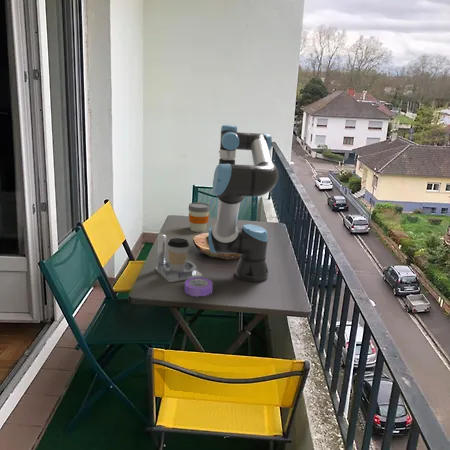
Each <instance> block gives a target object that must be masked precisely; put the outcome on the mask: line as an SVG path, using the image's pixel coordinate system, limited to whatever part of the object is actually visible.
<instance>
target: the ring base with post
mask: <svg viewBox="0 0 450 450" xmlns="http://www.w3.org/2000/svg"><path fill="white" fill-rule="evenodd" d="M166 247H167V234H166V233H158V234H157V260H156V261H157V262H156V263H157V264H156V265H157V266H155V270H156V271H157V272H158V273H159V274H160V275H161V276H162V277H163V278H164V279H165V280H167V282H169V283H174V282H175V283H176V282H180V281H186V280H188V279H190V278H195V277H202V278H203V274H202V273H201V272H199V271H198V270H197V265H196V264H194V263H193V262H192V261H190V260H186V262H185V266H184V271H182V272H177V271H171V270H170V262H169V260H166V257H167V256H166V254H167V253H166V252H167V251H166V250H167V248H166Z"/></svg>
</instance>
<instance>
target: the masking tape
mask: <svg viewBox="0 0 450 450" xmlns="http://www.w3.org/2000/svg"><path fill="white" fill-rule="evenodd" d="M213 284H214V283H213V281H212V280H211V279H209V278H206V277H203V276H202V277H195V278H190V279H187V280H184V292H185V294H187V295H188V294H189V296H192V297H195V296H196V298H199V297H198V296H204V297H207V296H206V295H208V296H210V295H211V294H212V293H213V288H214V287H213V286H214V285H213ZM210 293H211V294H210ZM209 294H210V295H209Z"/></svg>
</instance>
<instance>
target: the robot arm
mask: <svg viewBox="0 0 450 450" xmlns="http://www.w3.org/2000/svg"><path fill="white" fill-rule="evenodd" d="M272 143H273V142H272V135H271V134H268V133H256V132H255V133H254V132H240V131H239V132H238V126H236V125H232V124H223V125H222V126H221V127H220V145H219V146H220V147H219V151H218V154H219V159H218V160H219V162H218V164H217V165H216V167H215V169H214V173H213V180H212V193H213V194H214V195H215V196H216V197H217V213H216V214H217V215H216V223H214V224H213V226H210V227H209V228H208V248H209V251H210V253H213V254H214V253H215V254H227V255H228V254H229V255H231V254H233V255H240V256H239V257H240V258H239V260H238V263H237V266H236V267H235V271H234V275H235V277H236V278H238V279H240V280H241V281H245V282H250V283H252V282H253V283H255V282H257V283H258V282H264V281H266V280H268V278H269V269H268V265H267V261H266V259H267V251H268V250H267V249H268V242H269V238H268V236H269V234H268V231H267V230H266V229H265V228H264V227H263V226H260V225H257V224H251V223H249V224H248V223H247V224H243V225H242V227H241V228H240V227H239V228H238V226H237V222H238V217H239V211H240V205H241V203H242V202H243V201H244V199H245V197H253V198H257V197H262V196H264V195H266V194H268V193H269V192H271V191H272V190H273V189H274V188H275V186H276V185H277V183H278V181H279V171H278V170H279V169H278V167H277V166H276V164H275V163H273V159H272V155H271V152H270V151H271V149H272ZM237 150H241V151H243V150H244V151H251V157H252V162H253V165H252V164H236V160H235V159H236V156H237V155H236V153H237Z"/></svg>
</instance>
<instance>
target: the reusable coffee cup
mask: <svg viewBox="0 0 450 450" xmlns="http://www.w3.org/2000/svg"><path fill="white" fill-rule="evenodd" d="M210 211H211V207H210V204H209V203H205V202H201V201H200V202H197V201H196V202H190V203H189V204H188V212H189V213H188V221H189V226H190V230H191V231H192V232H199V233H200V232H201V233H202V232H205V231H206V230H207V226H208V225H207V224H208V222H209V217H210V214H209V213H210Z"/></svg>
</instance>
